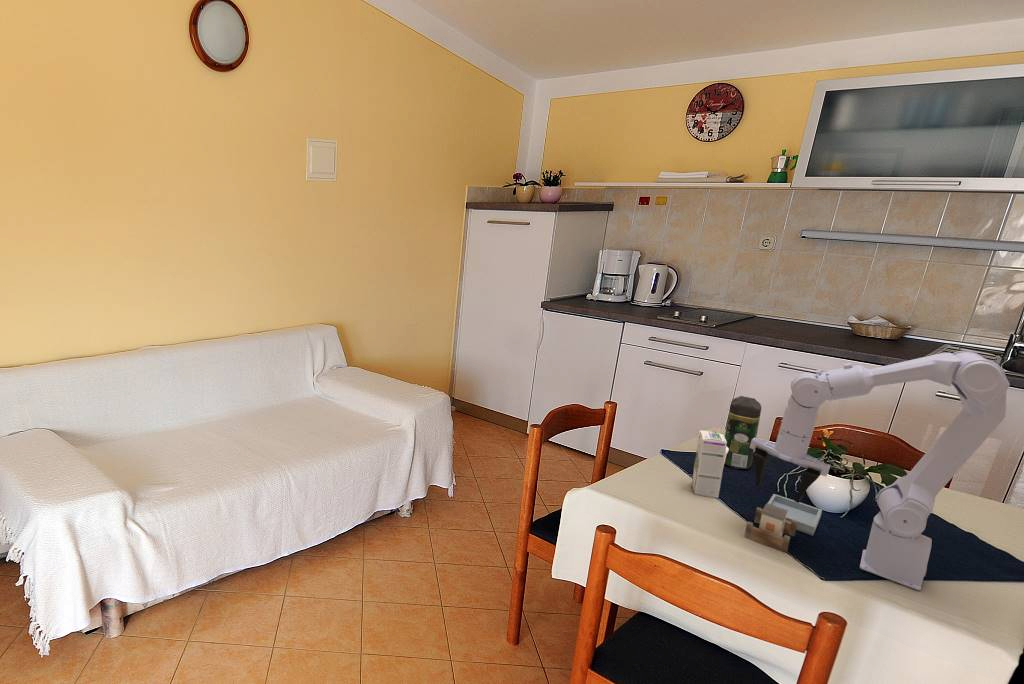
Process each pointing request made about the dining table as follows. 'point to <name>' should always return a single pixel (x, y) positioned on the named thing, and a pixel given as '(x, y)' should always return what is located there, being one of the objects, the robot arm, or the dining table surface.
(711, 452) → the syrup box
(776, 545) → the rail holder
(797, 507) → the tray
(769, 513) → the small beige carton
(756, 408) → the coffee jar
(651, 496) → the dining table surface
